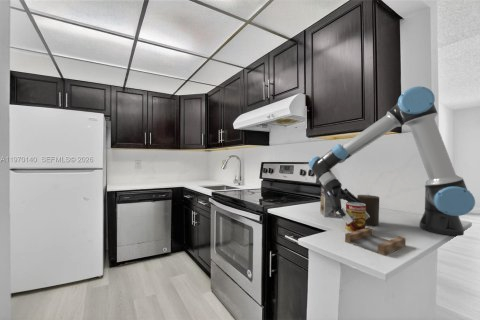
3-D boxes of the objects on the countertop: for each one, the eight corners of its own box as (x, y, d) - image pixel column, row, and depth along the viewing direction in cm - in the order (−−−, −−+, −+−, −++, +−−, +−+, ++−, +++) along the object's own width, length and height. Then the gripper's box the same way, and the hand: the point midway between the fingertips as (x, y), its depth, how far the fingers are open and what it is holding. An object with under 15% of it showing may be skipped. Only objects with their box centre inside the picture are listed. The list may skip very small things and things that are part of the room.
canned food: (350, 233, 97) (351, 205, 97) (342, 227, 105) (342, 201, 104) (368, 233, 97) (369, 205, 97) (358, 227, 105) (359, 202, 105)
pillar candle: (372, 227, 105) (373, 195, 105) (352, 221, 114) (353, 192, 113) (382, 224, 110) (383, 194, 110) (362, 219, 119) (364, 191, 118)
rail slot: (367, 234, 95) (367, 227, 95) (405, 245, 83) (405, 237, 83) (345, 241, 87) (345, 233, 87) (384, 255, 75) (384, 246, 75)
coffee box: (319, 212, 132) (320, 185, 131) (331, 213, 131) (331, 185, 131) (324, 216, 122) (324, 187, 122) (336, 217, 122) (337, 187, 122)
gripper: (340, 186, 121) (368, 220, 108) (309, 189, 107) (336, 229, 95) (350, 177, 116) (380, 212, 104) (318, 179, 103) (348, 219, 90)
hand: (359, 220), depth 99 cm, fingers open, 13 cm apart
